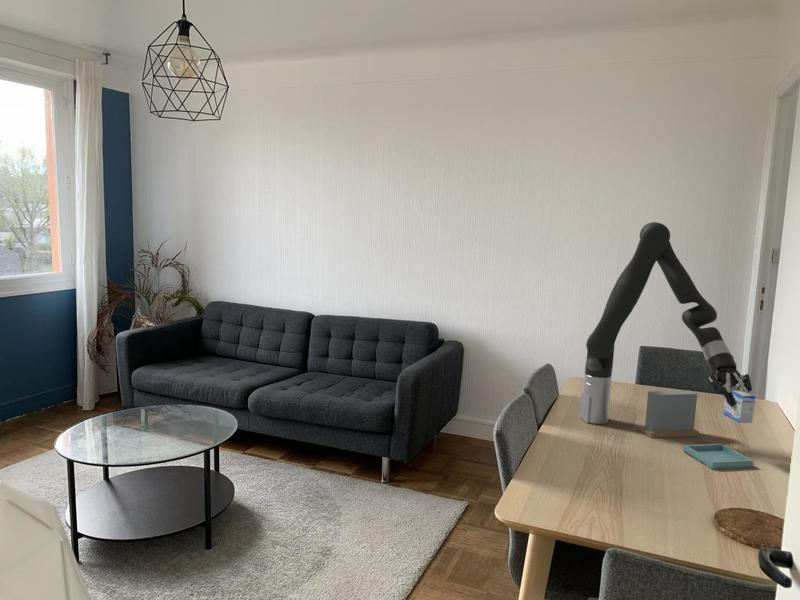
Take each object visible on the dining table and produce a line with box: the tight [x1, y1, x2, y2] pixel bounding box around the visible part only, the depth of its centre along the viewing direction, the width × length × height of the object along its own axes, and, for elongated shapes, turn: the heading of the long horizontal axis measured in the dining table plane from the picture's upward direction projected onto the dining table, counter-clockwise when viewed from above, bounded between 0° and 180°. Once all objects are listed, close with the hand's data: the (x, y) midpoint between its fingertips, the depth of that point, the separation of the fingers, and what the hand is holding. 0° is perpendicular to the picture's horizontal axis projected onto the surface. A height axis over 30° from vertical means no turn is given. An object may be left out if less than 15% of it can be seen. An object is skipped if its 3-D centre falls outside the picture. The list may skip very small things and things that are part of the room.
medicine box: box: [722, 387, 756, 424], centre depth 183 cm, size 8×4×9 cm, turn 7°
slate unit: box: [639, 390, 700, 438], centre depth 205 cm, size 18×7×14 cm, turn 100°
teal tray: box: [682, 443, 754, 471], centre depth 183 cm, size 14×14×2 cm
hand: (741, 404), depth 182 cm, fingers closed on medicine box, 4 cm apart
